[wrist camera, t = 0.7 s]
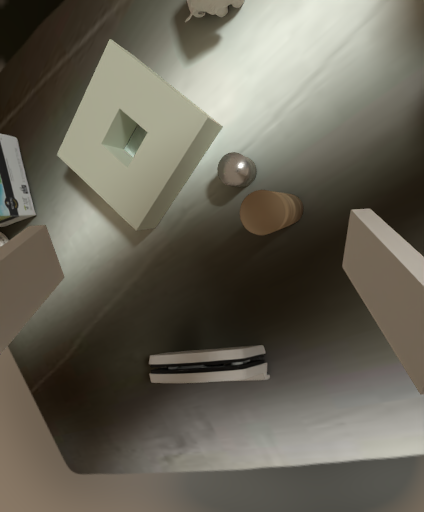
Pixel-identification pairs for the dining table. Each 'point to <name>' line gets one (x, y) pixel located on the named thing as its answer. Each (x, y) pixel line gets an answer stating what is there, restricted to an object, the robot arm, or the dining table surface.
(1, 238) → the coaster
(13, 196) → the tea box
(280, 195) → the maple pin
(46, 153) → the dining table surface
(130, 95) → the sage block
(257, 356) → the magnetic window cleaner
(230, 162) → the steel stub
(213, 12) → the elephant figurine
